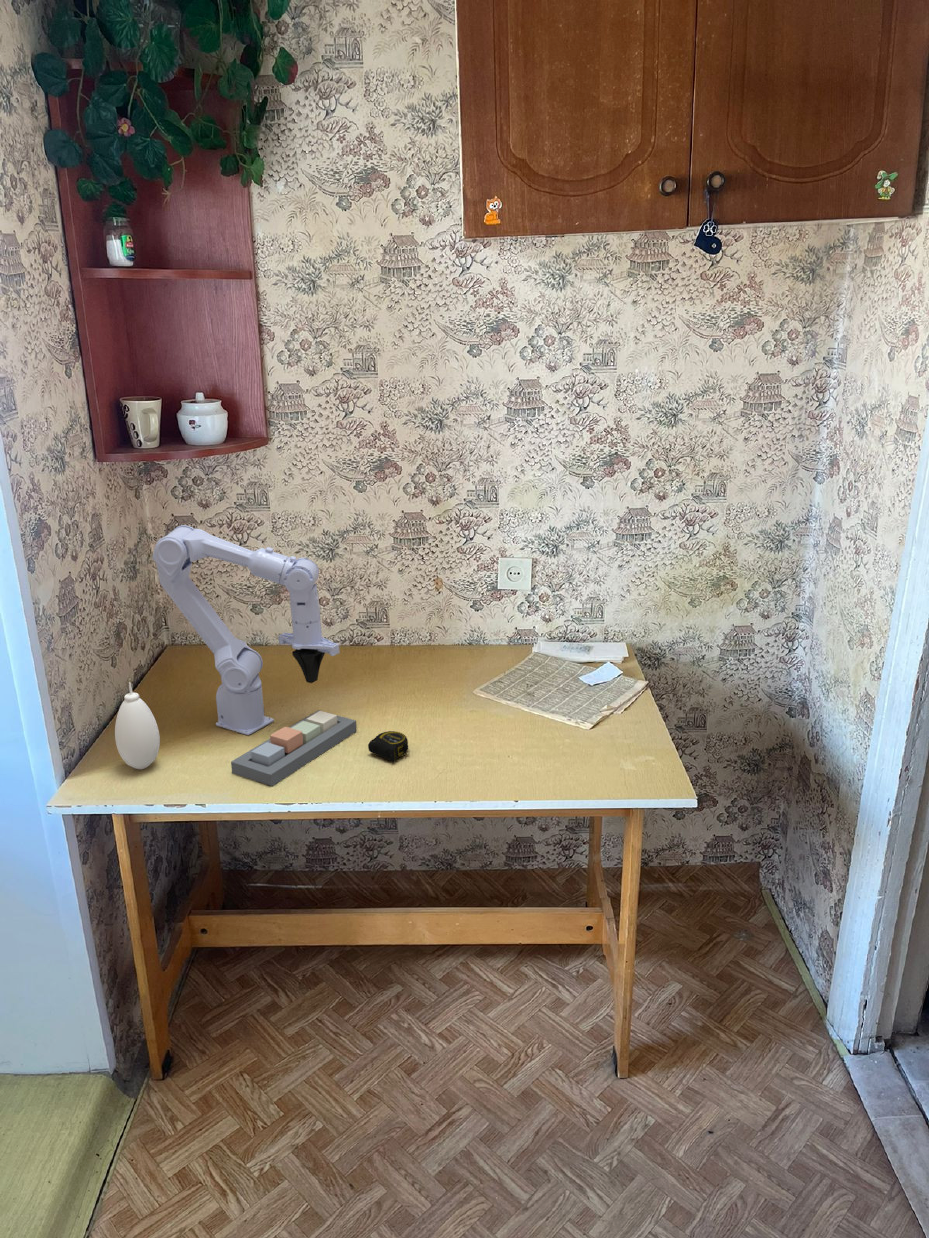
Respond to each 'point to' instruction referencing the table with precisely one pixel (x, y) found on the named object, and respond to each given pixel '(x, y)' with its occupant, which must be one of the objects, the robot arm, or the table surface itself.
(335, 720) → the ivory key
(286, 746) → the terracotta key
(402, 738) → the tape measure
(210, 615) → the robot arm
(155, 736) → the white bulb syringe
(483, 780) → the table surface
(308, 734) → the sage key
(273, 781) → the key panel
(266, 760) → the slate key
